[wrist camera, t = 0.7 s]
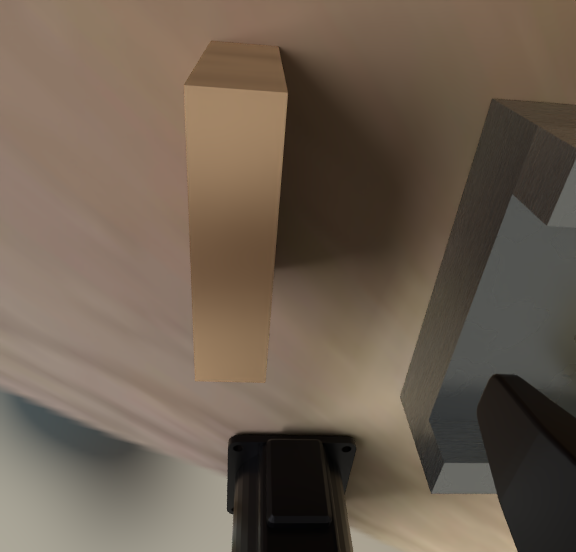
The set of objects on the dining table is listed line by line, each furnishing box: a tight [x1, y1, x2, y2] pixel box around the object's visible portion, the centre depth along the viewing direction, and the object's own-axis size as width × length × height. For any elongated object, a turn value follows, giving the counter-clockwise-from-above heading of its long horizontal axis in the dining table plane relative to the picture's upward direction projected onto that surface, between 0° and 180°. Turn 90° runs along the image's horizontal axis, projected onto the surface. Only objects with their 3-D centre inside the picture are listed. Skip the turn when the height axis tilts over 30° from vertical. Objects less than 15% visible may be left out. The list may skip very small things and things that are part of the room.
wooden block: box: [184, 41, 288, 383], centre depth 14 cm, size 8×2×6 cm, turn 175°
